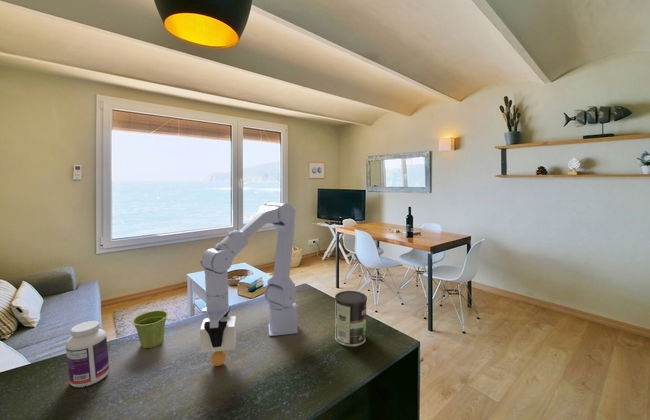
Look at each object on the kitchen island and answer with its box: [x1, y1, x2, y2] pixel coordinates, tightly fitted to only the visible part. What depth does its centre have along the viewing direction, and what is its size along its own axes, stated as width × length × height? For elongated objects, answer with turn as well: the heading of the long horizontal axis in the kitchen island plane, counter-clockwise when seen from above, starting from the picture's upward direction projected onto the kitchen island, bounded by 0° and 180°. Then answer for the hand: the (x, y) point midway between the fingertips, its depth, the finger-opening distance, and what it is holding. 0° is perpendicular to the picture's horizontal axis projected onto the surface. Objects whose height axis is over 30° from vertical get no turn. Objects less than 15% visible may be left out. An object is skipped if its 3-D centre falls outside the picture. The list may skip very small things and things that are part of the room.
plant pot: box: [131, 310, 169, 349], centre depth 90 cm, size 9×9×9 cm
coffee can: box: [334, 290, 368, 347], centre depth 94 cm, size 10×10×14 cm
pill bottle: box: [65, 320, 110, 388], centre depth 74 cm, size 8×8×14 cm
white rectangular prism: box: [199, 315, 237, 354], centre depth 80 cm, size 9×6×7 cm
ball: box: [210, 351, 227, 367], centre depth 81 cm, size 4×4×4 cm
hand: (218, 339), depth 80 cm, fingers closed on white rectangular prism, 6 cm apart
